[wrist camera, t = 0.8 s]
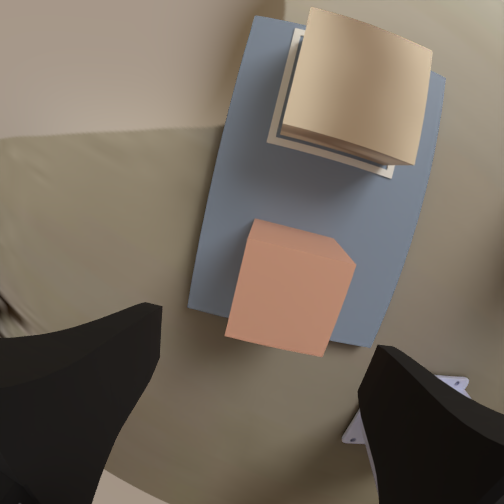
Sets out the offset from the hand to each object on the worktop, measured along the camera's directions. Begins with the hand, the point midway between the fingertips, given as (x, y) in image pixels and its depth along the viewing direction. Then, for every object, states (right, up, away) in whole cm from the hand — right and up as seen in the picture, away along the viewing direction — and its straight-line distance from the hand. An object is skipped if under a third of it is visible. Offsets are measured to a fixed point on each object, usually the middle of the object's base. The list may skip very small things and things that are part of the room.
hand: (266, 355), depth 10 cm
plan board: (+3, +7, +8) cm, 11 cm away
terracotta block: (+1, +2, +8) cm, 8 cm away
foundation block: (+5, +12, +5) cm, 14 cm away
